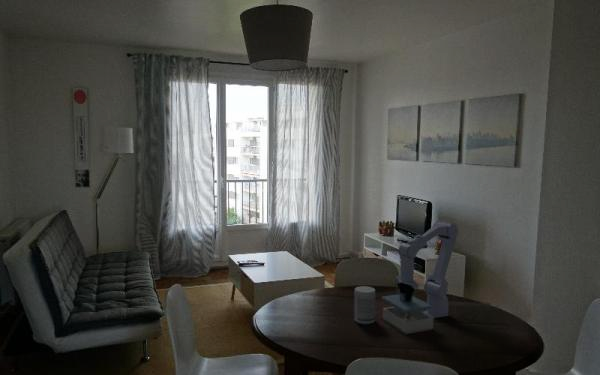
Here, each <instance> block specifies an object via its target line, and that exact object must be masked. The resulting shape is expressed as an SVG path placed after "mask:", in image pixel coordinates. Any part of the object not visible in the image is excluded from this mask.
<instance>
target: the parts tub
mask: <svg viewBox="0 0 600 375" xmlns="http://www.w3.org/2000/svg"><path fill="white" fill-rule="evenodd" d="M382 320H384V321H385V322H387V323H388V324H390V325H392V327H394V328H396V329H397V330H399V331H400V332H402V333H404V334H405V335H408V334H409V335H410V334H414V333H415V334H416V333H420V332H426V331H432V330H433V329H434V318H432V317H430V316H428V315H427V314H425V313H423V311H417V312H410V313H404V312H402V311H401V310H399V309H397V308H396V307H394V306H389V307H383V308H382Z"/></svg>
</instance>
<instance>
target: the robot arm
mask: <svg viewBox="0 0 600 375" xmlns="http://www.w3.org/2000/svg"><path fill="white" fill-rule="evenodd" d="M458 228H459V227H458V226H457V224H456V223H450V222H446V221H442V220H437V221H435V222H434V223H433V224H432V226H431V227H430V228H429V229H428V230H427V231H426V232H424V233H423V234H422V235H421V234H416V235H415V237H413V238H412V239H411V240H408V241H407V242H403V243H401V244H400V245H399V247H398V249H397V252H398V255H399V259H400V266H399V267H400V270H399V272H400V275H399V274H398V275H395V281H397V283H396V285H397V288H398V290H399V294H400V293H405V300H406V302H408V301H410V300H411V297H412V296H413V295H412V294H414V292H415V291H416V290H419V283H417V282H416V281H415V280H414V274H415V273H414V268H415V266H414V265H415V257H416V256H417V254H418V253H419V251H420V250H421V249H423V248H425V247H426V246H427V243H428V242H429V241H431V240H432V239H434V238H436V237H438V238H439V239H440V240H441V242H442V243H441V245H440V246H441V247H440V249H439V252H438V256H437V259H436V264H435V267H434V269H433V273H432V274H431V275H429V276H427V279H426V281H425V282H424V284H423V291H424V292H425V294H426V295H427V296H426V303H427V304H429V305H431V306H432V308H429V309H428V310H423V311H422V312H423V313H425V314H427V315H428V316H430V317H432V318H433V319H436V318H441V317H448V316H450V313H449V304H450V303H449V298H448V297H447V294H448V286H449V282H448V281H447V279H446V275H447V271H448V268H449V264H450V260H451V258H452V255H453V254H452V253H453V251H454V247H455V243H456V242H457V237H458V234H459V229H458Z"/></svg>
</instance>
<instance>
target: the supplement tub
mask: <svg viewBox="0 0 600 375" xmlns="http://www.w3.org/2000/svg"><path fill="white" fill-rule="evenodd" d="M353 295H354V296H353V298H354V299H353V300H354V301H353V306H354V307H353V311H354V312H353V313H354V314H353V316H354V317H353V318H354V322H356V323H358V324H362V325H372V324H373V323H374V322H375V321H376V305H377V304H376V301H377V300H376V299H377V298H376V295H377V294H376V289H375V288H374V287H372V286H364V285H363V286H357V287H355V288H354V294H353Z"/></svg>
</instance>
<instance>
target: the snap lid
mask: <svg viewBox="0 0 600 375" xmlns="http://www.w3.org/2000/svg"><path fill="white" fill-rule="evenodd" d="M413 294H414V293H413ZM413 294H412V297H411V300H410V301H408V302H406V300H405V293H400V292H399V294H391V295H384V296H381V300H383V301H384V302H385V303H387V304H389V305H390V306H391V307H396V308H397V309H399V310H401V311H402V312H404V313H410V312H417V311H421V312H423V311H427V310H428V309H429V308H432V306H431V305H429V304H427V302H425V301H423V300H422V299H419V298H418V297H415V296H413Z"/></svg>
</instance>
